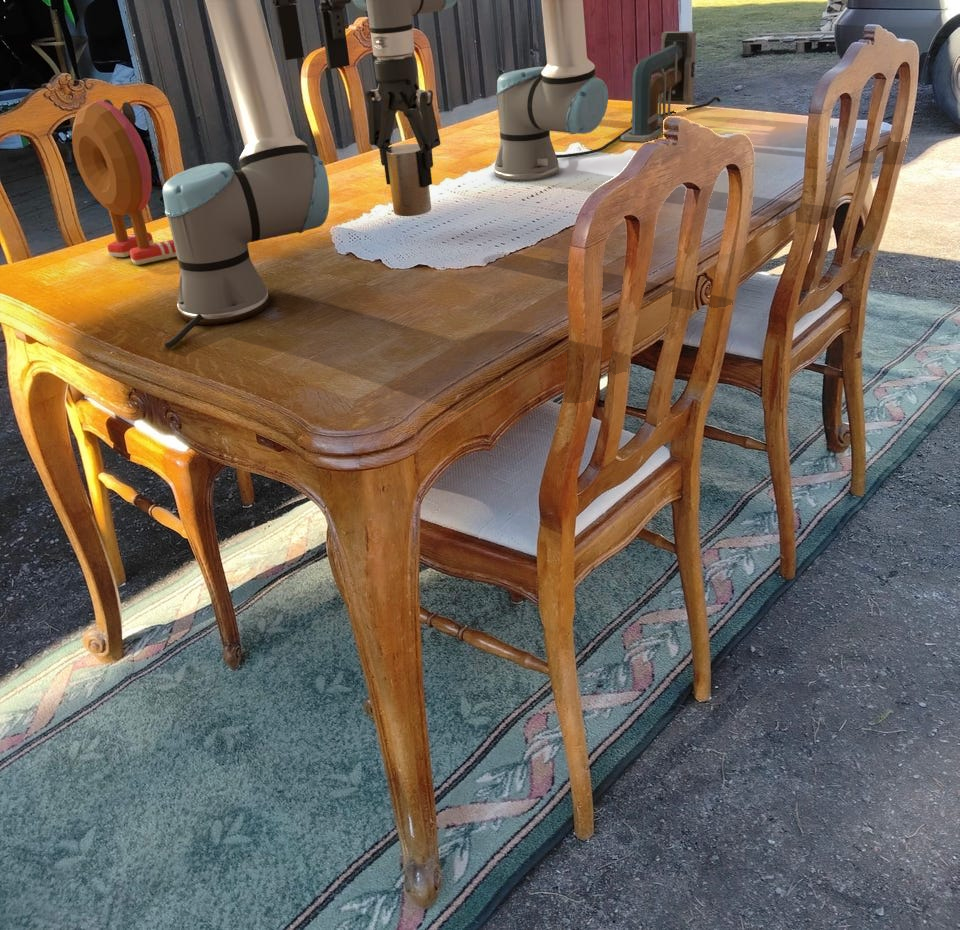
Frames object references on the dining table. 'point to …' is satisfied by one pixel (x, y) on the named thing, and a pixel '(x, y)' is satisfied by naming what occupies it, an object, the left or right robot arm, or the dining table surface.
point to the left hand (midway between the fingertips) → (315, 63)
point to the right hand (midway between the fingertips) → (409, 183)
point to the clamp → (662, 84)
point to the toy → (118, 176)
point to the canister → (407, 181)
